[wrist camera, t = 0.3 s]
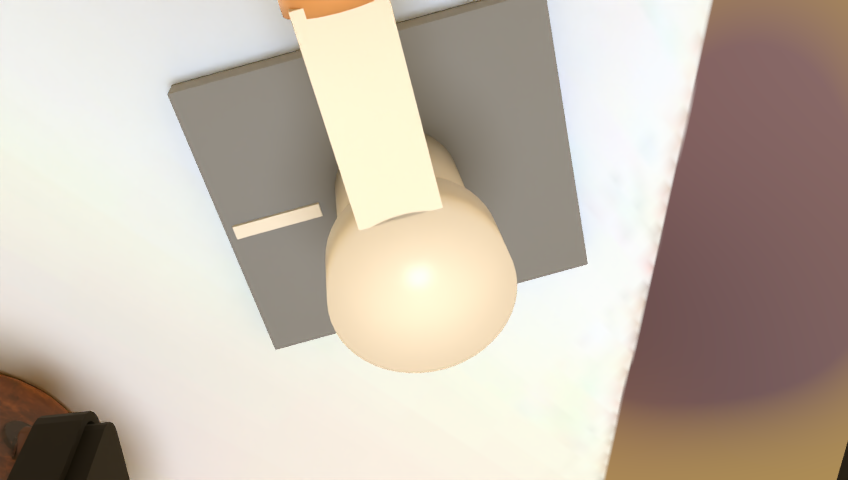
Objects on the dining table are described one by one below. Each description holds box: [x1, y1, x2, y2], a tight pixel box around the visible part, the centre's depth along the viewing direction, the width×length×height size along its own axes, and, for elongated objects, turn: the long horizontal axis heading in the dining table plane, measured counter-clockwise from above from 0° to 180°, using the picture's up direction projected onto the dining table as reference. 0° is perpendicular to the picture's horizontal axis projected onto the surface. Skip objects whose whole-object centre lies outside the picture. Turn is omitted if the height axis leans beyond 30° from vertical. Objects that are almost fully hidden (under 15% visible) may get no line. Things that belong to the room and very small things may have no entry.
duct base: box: [168, 0, 588, 350], centre depth 42 cm, size 17×20×9 cm
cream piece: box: [278, 0, 517, 373], centre depth 34 cm, size 18×8×4 cm, turn 13°
